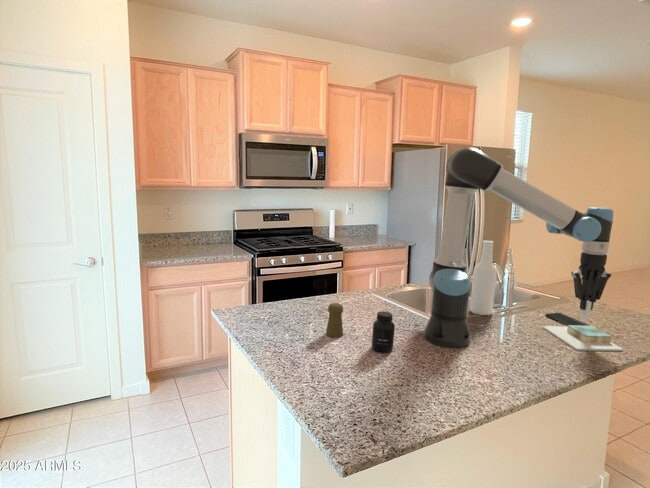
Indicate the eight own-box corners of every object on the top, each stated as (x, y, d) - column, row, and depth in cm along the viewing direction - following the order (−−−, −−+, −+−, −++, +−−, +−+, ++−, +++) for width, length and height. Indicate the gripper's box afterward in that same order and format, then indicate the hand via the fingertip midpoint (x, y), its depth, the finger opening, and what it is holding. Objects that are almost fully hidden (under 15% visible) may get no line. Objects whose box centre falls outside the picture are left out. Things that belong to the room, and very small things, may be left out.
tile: (567, 325, 151) (591, 325, 151) (567, 331, 151) (590, 331, 152) (586, 336, 141) (611, 336, 142) (585, 342, 142) (610, 343, 142)
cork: (346, 333, 144) (347, 303, 142) (339, 339, 139) (340, 308, 137) (330, 329, 147) (331, 300, 145) (322, 335, 141) (324, 305, 139)
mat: (576, 350, 136) (576, 348, 136) (542, 327, 156) (542, 326, 156) (623, 350, 137) (623, 349, 137) (583, 328, 157) (583, 326, 157)
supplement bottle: (379, 355, 128) (381, 318, 125) (367, 347, 134) (369, 311, 131) (397, 351, 131) (400, 315, 129) (384, 343, 137) (387, 308, 135)
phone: (558, 312, 172) (591, 325, 158) (558, 315, 172) (591, 328, 158) (544, 314, 169) (576, 327, 155) (543, 316, 170) (575, 330, 156)
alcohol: (492, 317, 165) (500, 243, 160) (469, 314, 168) (476, 241, 163) (491, 310, 174) (499, 240, 168) (469, 307, 176) (476, 238, 171)
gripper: (583, 254, 137) (573, 322, 141) (620, 255, 138) (610, 322, 142) (568, 250, 145) (560, 314, 149) (604, 251, 145) (595, 314, 149)
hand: (584, 318), depth 145 cm, fingers closed
